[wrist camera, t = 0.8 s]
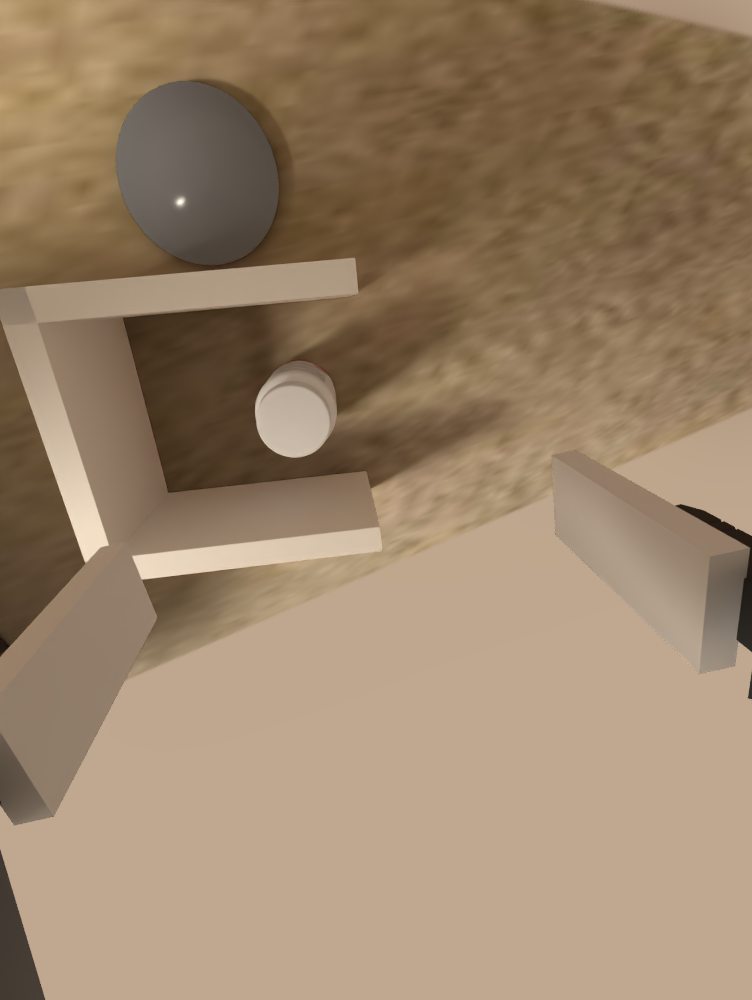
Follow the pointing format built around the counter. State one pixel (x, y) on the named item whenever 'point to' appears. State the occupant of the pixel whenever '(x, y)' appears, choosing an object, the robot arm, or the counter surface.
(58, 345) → the cubby
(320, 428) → the pill bottle
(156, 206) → the coaster
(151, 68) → the counter surface
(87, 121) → the counter surface
